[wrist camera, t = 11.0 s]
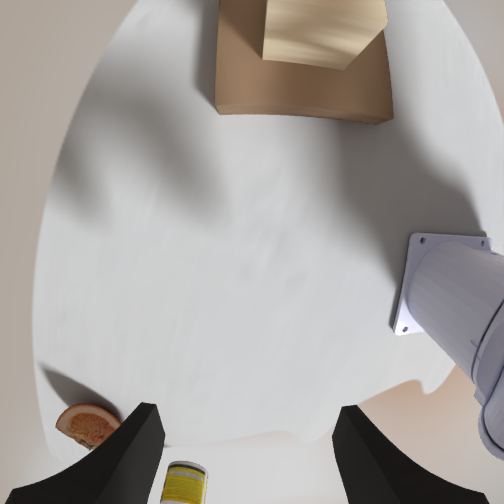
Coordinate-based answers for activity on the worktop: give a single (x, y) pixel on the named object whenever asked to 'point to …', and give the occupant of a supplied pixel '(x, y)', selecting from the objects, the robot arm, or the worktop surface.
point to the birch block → (321, 30)
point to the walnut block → (294, 75)
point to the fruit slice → (87, 424)
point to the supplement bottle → (184, 484)
